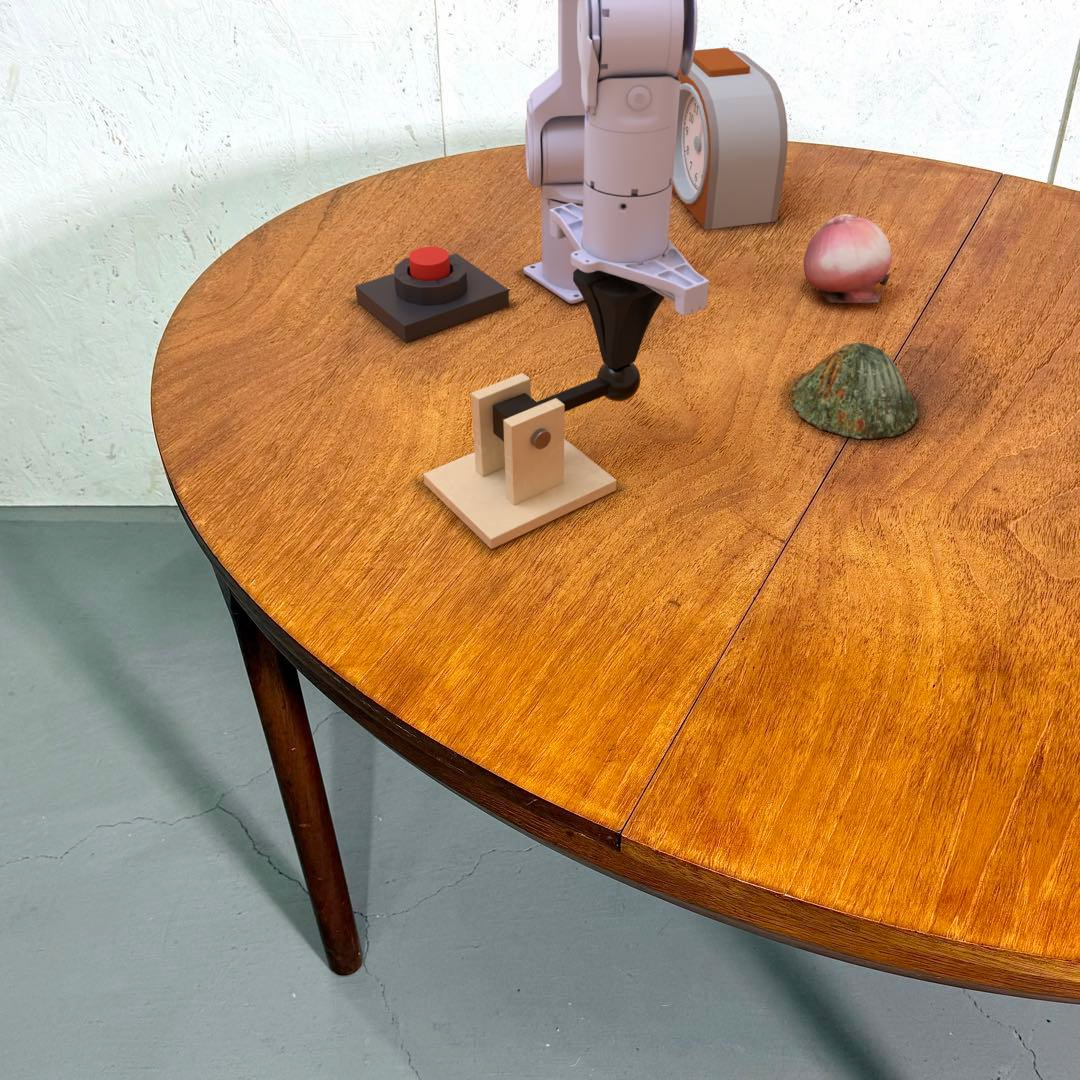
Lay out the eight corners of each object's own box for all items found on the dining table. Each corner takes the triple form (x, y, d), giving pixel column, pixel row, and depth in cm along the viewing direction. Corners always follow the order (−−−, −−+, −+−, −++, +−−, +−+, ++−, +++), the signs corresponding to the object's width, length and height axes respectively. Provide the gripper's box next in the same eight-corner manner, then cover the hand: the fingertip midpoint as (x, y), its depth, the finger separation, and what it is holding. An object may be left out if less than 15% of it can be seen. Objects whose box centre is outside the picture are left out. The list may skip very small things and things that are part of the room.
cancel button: (437, 260, 98) (435, 242, 97) (457, 275, 96) (456, 257, 95) (403, 271, 97) (401, 253, 95) (423, 286, 94) (422, 268, 93)
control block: (457, 269, 103) (455, 235, 101) (509, 306, 98) (508, 271, 96) (357, 302, 99) (352, 267, 96) (406, 343, 93) (402, 307, 91)
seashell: (793, 380, 81) (812, 317, 88) (781, 423, 83) (800, 359, 90) (927, 412, 79) (935, 346, 86) (910, 456, 81) (919, 388, 89)
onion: (851, 266, 103) (865, 195, 98) (903, 302, 98) (921, 228, 93) (782, 284, 101) (794, 212, 96) (833, 321, 95) (848, 247, 91)
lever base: (544, 432, 83) (544, 345, 78) (616, 490, 78) (621, 401, 72) (423, 484, 78) (414, 395, 73) (491, 550, 73) (486, 459, 68)
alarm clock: (655, 173, 120) (663, 47, 111) (726, 166, 122) (739, 40, 113) (701, 230, 109) (714, 95, 100) (778, 221, 111) (797, 87, 102)
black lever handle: (620, 381, 81) (623, 344, 79) (647, 400, 79) (651, 363, 77) (489, 434, 75) (487, 396, 73) (514, 456, 73) (514, 418, 71)
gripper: (512, 157, 71) (516, 336, 80) (653, 235, 62) (640, 427, 71) (596, 133, 74) (591, 308, 83) (742, 205, 65) (719, 392, 74)
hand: (619, 361), depth 77 cm, fingers closed
